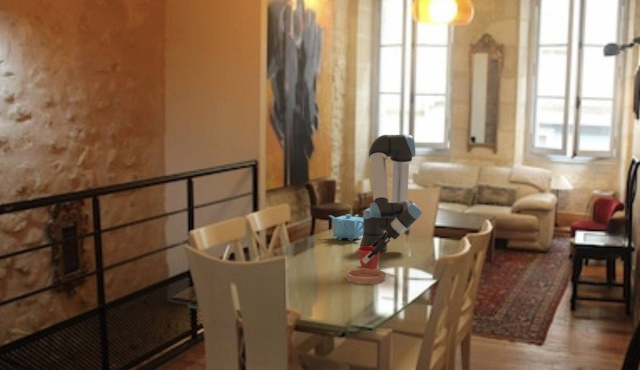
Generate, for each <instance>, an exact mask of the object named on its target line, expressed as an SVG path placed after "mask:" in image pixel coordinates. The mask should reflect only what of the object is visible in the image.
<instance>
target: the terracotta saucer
mask: <svg viewBox="0 0 640 370" xmlns="http://www.w3.org/2000/svg"><path fill="white" fill-rule="evenodd" d="M344 275H345V279H346V281H347V282H350V283H352V284H357V285H378V284H380V283H384V282H385V281H386V278H387V272H385V271H382V270H380V269H378V268H376V269H368V268H362V267H361V268H354V269H349V270H348V271H347V272H346V273H345V274H344Z"/></svg>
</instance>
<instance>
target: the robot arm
mask: <svg viewBox="0 0 640 370" xmlns="http://www.w3.org/2000/svg"><path fill="white" fill-rule="evenodd" d="M389 157H390V159H389V160H390V161H391V162H392V180H391V181H392V182H391V202H389V190H388V177H387V176H388V174H387V163H386V162H387V159H388V158H389ZM415 157H416V143H415V139H414V137H413V135H411V134H383V135H380V136H378V137H377V138H375V139H374V140H373V142H372V144H371V145H370V147H369V151H368V160H369V162H370V166H371V182H372V184H371V185H372V195H373V197H372V199H373V202H371V203H370V204H369V207H368V208H366V209H364V211H363V215H362V218H363V236H362V238H361V241H360V243H359V248H360V247H364V246H373V247H375V248H374V249H373V250H372V249H371V250H370V252H369V253H368V254H367V255H366V256H365V257H364V258H363V259H362V261H363V262H364V263H365V264H366V263H367V262H368V261H369V260H370V259H371V258H372V257H374V256H375V255H377V254H378V253H379V252H380V253H382V252H386V251H387V250H388V244H389V242H390V241H391V240H390V239H393V240H397V239H398V238H399V237H400V235H401V234H403V233H405V232H408V231H409V230H410V229H411V227H412V225H413V224H414V223H415V222H416V221H417V220H418V219H419V218H420V217H421V216H422V215H423V210H422V209H420V207H419V206H418V205H417V204H416V203H415V202H410V201H408V195H409V194H408V193H409V173H410V171H409V170H410V163H411V162H412V161H413V158H415Z"/></svg>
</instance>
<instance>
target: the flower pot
mask: <svg viewBox="0 0 640 370" xmlns="http://www.w3.org/2000/svg"><path fill="white" fill-rule="evenodd" d="M374 248H375V247H373V246H364V247H360V246H359V247H358V248H357V250H358V255H359V256H358V257H359V263H360V267H361V268H368V269H378V265H379V264H378V263H379V259H380V254H381V252H379V253H378V254H377V255H375V256H374V257H372V258H371V259H370V260H369V261H368V262H367V263H366V264H365V263H364V262H363V261H362V259H363V258H364V257H365V256H366V255H367V254H368V253H369V252H370V250H371V249H372V250H373V249H374Z"/></svg>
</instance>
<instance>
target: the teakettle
mask: <svg viewBox="0 0 640 370" xmlns="http://www.w3.org/2000/svg"><path fill="white" fill-rule="evenodd" d="M329 217H330V218H331V221H332V226H333V228H332V229H333V230H332V234H333V236H332V237H334V238H335V237H336V238H337V240H338V241H340V240H341V241H342V239H343V240H344V239H348V240H349V242H353V241H354V240H359V238H360V237H363V217H360V216H359V214H355V215H353V216H352V214H351V213H350V214H349V213H348V214H347V213H346V214H345V215H341V216H338V217H335V216H333V215H329Z"/></svg>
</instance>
